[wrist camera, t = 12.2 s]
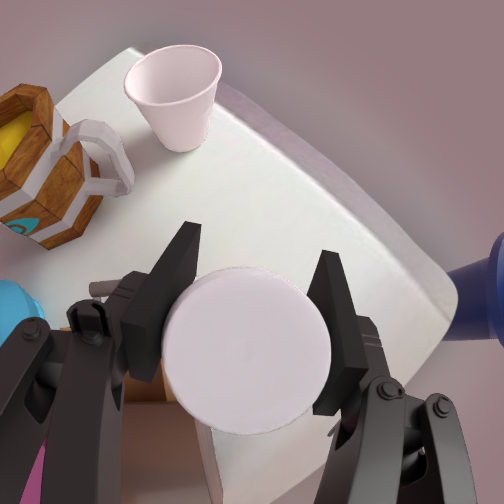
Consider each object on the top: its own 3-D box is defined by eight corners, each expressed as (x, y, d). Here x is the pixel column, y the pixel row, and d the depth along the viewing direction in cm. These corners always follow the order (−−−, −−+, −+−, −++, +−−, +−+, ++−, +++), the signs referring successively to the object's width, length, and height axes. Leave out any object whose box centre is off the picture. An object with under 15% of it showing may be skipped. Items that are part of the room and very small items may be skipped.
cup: (237, 120, 36) (240, 56, 26) (197, 179, 34) (184, 119, 23) (174, 98, 37) (162, 38, 26) (131, 150, 34) (104, 92, 24)
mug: (13, 248, 30) (-64, 207, 16) (37, 158, 33) (-17, 97, 19) (141, 255, 31) (78, 198, 17) (159, 149, 34) (128, 59, 20)
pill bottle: (300, 370, 16) (382, 412, 6) (207, 400, 15) (178, 481, 5) (270, 280, 17) (317, 215, 7) (177, 308, 16) (109, 276, 7)
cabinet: (98, 385, 27) (57, 399, 19) (203, 382, 28) (191, 402, 20) (124, 490, 24) (97, 526, 15) (223, 492, 25) (221, 536, 16)
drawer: (90, 290, 29) (58, 279, 22) (184, 281, 30) (170, 267, 23) (110, 441, 25) (84, 463, 18) (206, 442, 26) (199, 470, 19)
